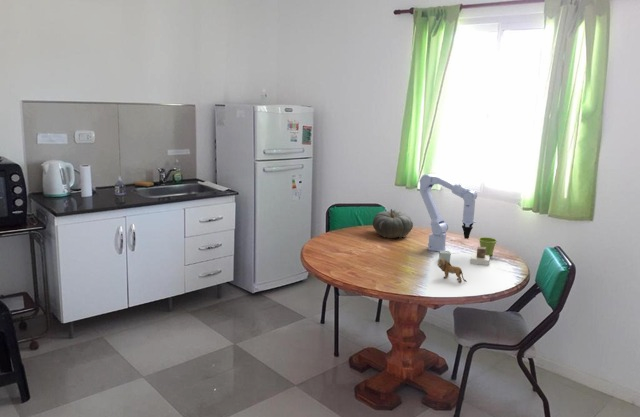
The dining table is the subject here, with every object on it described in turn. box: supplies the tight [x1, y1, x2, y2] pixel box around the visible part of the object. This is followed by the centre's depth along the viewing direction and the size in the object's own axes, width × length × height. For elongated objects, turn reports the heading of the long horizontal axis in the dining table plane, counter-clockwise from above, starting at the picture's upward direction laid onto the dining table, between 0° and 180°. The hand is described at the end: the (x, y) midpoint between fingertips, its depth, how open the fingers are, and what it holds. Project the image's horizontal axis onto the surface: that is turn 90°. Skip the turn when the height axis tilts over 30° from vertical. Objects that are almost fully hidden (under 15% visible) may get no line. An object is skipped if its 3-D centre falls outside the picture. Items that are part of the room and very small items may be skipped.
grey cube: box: [438, 250, 452, 264], centre depth 262 cm, size 5×5×5 cm
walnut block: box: [476, 245, 486, 258], centre depth 261 cm, size 4×4×5 cm
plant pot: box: [478, 236, 497, 257], centre depth 273 cm, size 9×9×9 cm
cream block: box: [470, 253, 490, 266], centre depth 262 cm, size 9×9×3 cm
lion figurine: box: [437, 259, 467, 284], centre depth 234 cm, size 15×5×9 cm, turn 53°
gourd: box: [372, 208, 414, 239], centre depth 308 cm, size 25×25×17 cm
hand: (466, 236), depth 271 cm, fingers open, 7 cm apart
